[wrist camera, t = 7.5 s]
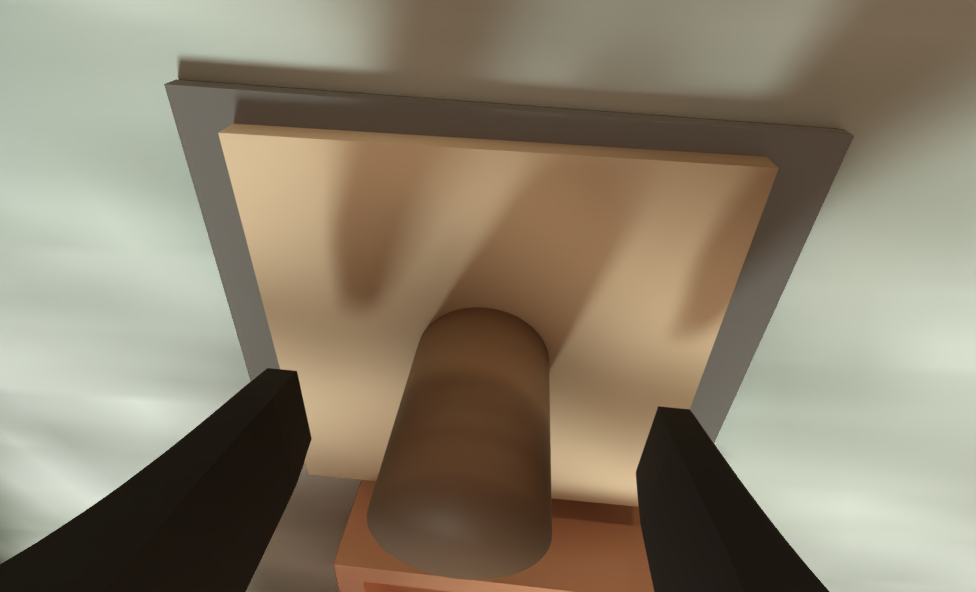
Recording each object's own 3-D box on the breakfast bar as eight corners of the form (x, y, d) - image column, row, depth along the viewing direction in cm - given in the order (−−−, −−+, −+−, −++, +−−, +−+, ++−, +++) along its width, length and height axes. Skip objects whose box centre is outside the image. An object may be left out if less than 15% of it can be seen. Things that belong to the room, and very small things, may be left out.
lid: (649, 490, 16) (688, 685, 12) (314, 458, 16) (237, 633, 12) (766, 156, 10) (929, 312, 6) (233, 123, 10) (28, 244, 6)
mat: (686, 485, 16) (689, 496, 16) (277, 442, 17) (271, 452, 16) (843, 129, 10) (853, 136, 9) (176, 80, 10) (164, 84, 10)
